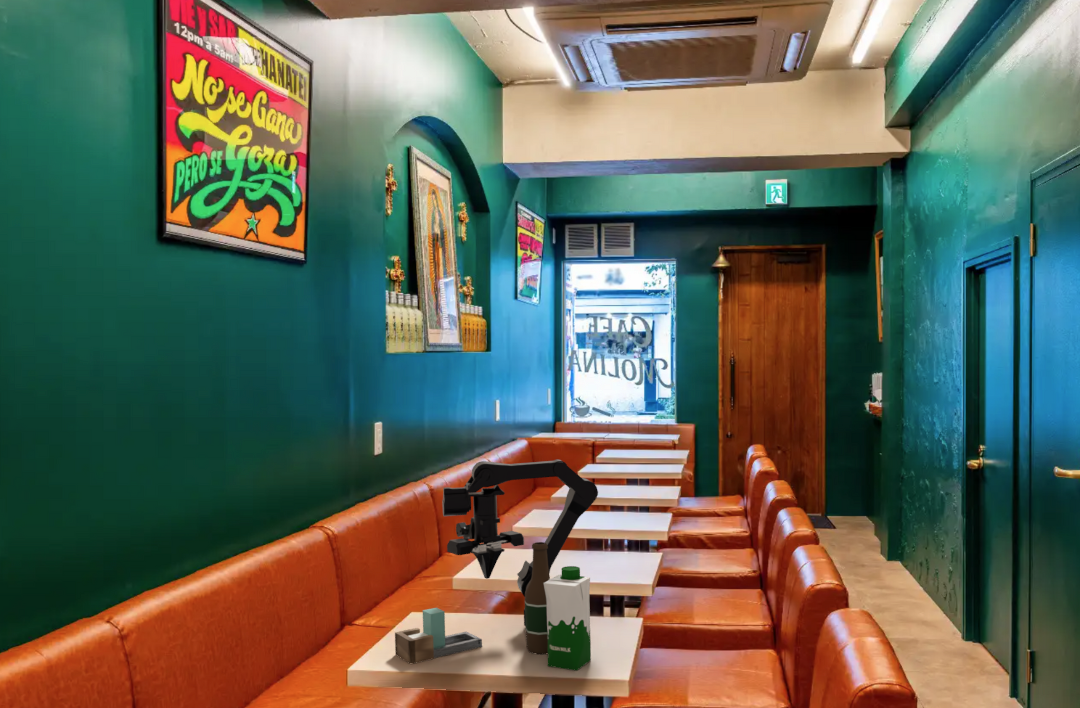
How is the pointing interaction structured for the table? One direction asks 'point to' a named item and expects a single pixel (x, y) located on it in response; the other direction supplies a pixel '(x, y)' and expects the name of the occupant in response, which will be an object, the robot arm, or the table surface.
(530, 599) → the beer bottle
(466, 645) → the rails
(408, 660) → the socket
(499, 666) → the table surface
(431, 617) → the teal block
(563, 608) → the milk carton
